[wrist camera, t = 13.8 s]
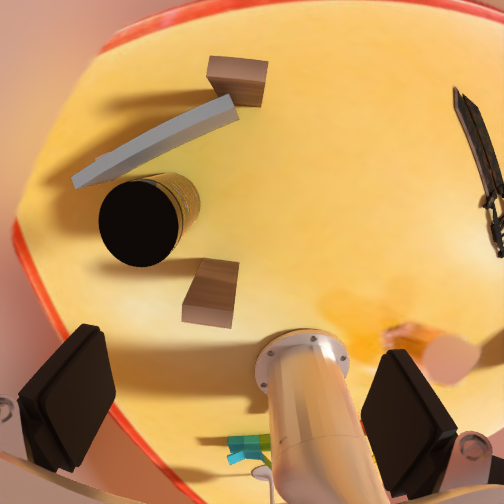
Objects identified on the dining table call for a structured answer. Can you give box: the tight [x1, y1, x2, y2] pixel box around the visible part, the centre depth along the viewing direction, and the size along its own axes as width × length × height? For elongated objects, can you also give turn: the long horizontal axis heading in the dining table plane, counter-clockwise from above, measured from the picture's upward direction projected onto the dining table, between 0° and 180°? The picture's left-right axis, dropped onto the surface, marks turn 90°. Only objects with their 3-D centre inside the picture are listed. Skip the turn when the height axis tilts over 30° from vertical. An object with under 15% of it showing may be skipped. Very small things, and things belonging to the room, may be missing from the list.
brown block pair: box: [182, 56, 268, 329], centre depth 26 cm, size 20×4×11 cm, turn 172°
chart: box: [227, 420, 376, 471], centre depth 36 cm, size 30×3×15 cm, turn 97°
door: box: [71, 94, 239, 189], centre depth 25 cm, size 15×2×8 cm, turn 112°
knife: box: [454, 86, 504, 258], centre depth 30 cm, size 25×6×1 cm, turn 27°
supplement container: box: [99, 173, 200, 267], centre depth 27 cm, size 7×7×10 cm
